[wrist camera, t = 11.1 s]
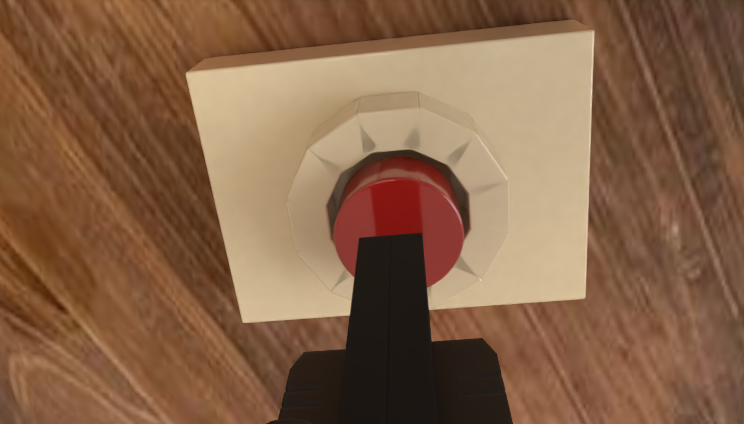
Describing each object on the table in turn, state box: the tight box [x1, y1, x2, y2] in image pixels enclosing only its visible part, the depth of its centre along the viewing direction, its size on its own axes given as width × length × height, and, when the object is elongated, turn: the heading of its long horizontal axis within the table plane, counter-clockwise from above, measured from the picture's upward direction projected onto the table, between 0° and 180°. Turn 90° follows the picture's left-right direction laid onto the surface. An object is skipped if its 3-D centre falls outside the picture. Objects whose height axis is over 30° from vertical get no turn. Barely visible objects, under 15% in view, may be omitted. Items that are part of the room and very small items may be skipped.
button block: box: [185, 19, 594, 323], centre depth 21 cm, size 12×9×4 cm
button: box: [333, 156, 464, 288], centre depth 18 cm, size 4×4×2 cm
